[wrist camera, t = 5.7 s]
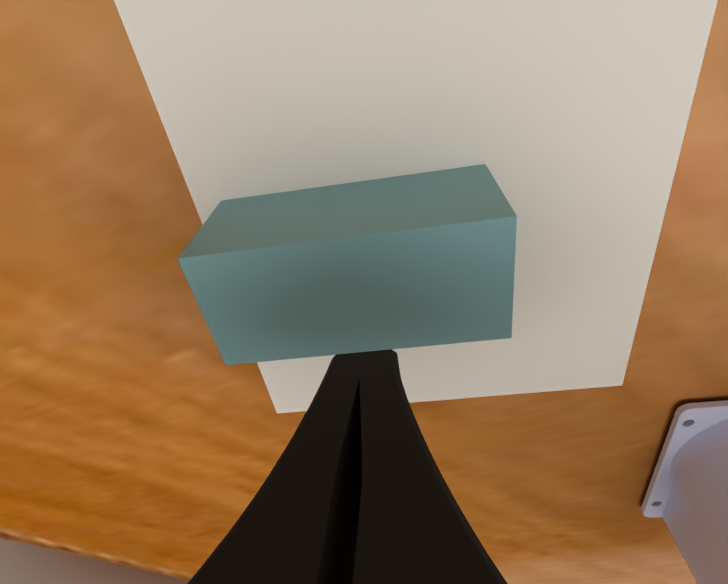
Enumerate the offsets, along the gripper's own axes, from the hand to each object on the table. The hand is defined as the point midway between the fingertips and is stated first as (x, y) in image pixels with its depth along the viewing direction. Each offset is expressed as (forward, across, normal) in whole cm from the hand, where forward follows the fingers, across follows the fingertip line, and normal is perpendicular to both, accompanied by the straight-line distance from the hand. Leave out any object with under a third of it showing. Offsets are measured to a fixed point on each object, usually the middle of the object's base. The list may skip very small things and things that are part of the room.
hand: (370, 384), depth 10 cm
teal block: (+5, -4, 0) cm, 7 cm away
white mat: (+8, -2, 0) cm, 8 cm away
